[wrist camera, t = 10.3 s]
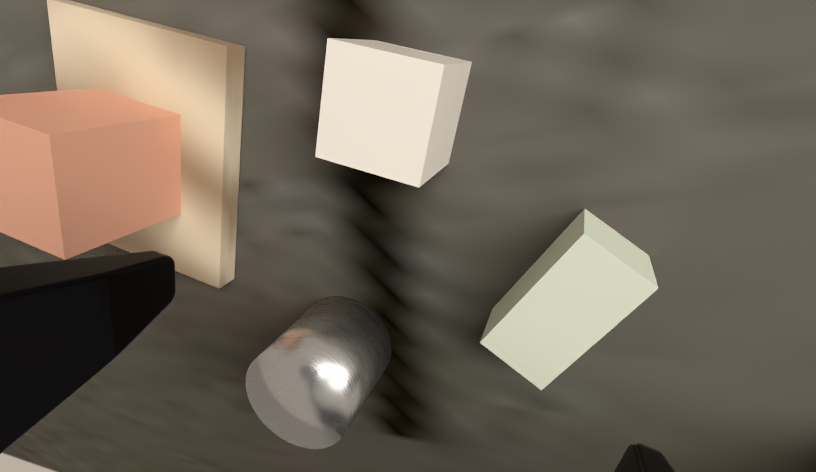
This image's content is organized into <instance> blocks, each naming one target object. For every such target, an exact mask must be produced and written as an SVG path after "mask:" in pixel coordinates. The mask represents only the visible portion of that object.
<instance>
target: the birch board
mask: <svg viewBox="0 0 816 472" xmlns="http://www.w3.org/2000/svg"><path fill="white" fill-rule="evenodd" d="M47 6H48V15H49V23H50V32H51V41H52V49H53V58H54V66H55V75H56V83H57V91H61V90H75V89H88V88H98V89H101V90H104V91H108V92H111V93H114V94H117V95H120V96H123V97H127V98H130V99H133V100H136V101H139V102H142V103H146V104H149V105H152V106H155V107H158V108H162V109H165V110H168V111H171V112H174V113H177V114H181V214H178V215H176V216H173V217H171V218H168V219H166V220H163V221H161V222H158V223H156V224H153V225H151V226H148V227H146V228H143V229H141V230H138V231H136V232H133V233H131V234H128V235H126V236H123V237H121V238H118V239H116V240H113V241H111V242H108V244H111V245H113V246H116V247H118V248H120V249H123V250H125V251H128V252H130V253H134V252H143V251H158V252H160V253H163V254H165V255H168V256H170V257H171V258H173V260H174V262H175V271H177V272H180V273H182V274H184V275H187V276H189V277H192V278H194V279H197V280H199V281H202V282H204V283H207V284H209V285H212V286H214V287H217V288H221V287H222V286H224V285H226V284H227V283H229V282H230V281H232V280H233V279H234V275H235V254H236V232H237V211H238V190H239V169H240V148H241V127H242V106H243V85H244V64H245V46H242V45H238V44H235V43H231V42H227V41H223V40H219V39H215V38H212V37H208V36H204V35H200V34H196V33H192V32H189V31H185V30H181V29H177V28H173V27H169V26H166V25H162V24H158V23H154V22H150V21H146V20H143V19H139V18H135V17H131V16H127V15H123V14H120V13H116V12H112V11H108V10H104V9H101V8H97V7H93V6H89V5H85V4H81V3H78V2H74V1H67V0H47Z"/></svg>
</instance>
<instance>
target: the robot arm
mask: <svg viewBox="0 0 816 472" xmlns="http://www.w3.org/2000/svg"><path fill="white" fill-rule="evenodd" d="M174 295H175V262H174V260H173V258H171V257H170V256H168V255H165V254H163V253H160V252H158V251H143V252H134V253H125V254H116V255H106V256H97V257H88V258H79V259H70V260H61V261H52V262H43V263H34V264H25V265H16V266H7V267H0V454H1V453H2V452H3V451H4V450H5V449H6V448H8V447H9V446H10V445H11V444H12V443H14V442H15V441H16V440H17V439H18V438H20V437H21V436H22V435H23V434H24V433H26V432H27V431H28V430H29V429H30V428H32V427H33V426H34V425H35V424H36V423H38V422H39V421H40V420H41V419H42V418H44V417H45V416H46V415H47V414H48V413H50V412H51V411H52V410H53V409H54V408H56V407H57V406H58V405H59V404H60V403H62V402H63V401H64V400H65V399H66V398H68V397H69V396H70V395H71V394H72V393H74V392H75V391H76V390H77V389H78V388H80V387H81V386H82V385H83V384H84V383H86V382H87V381H88V380H89V379H90V378H92V377H93V376H94V375H95V374H96V373H98V372H99V371H100V370H101V369H102V368H103V367H105V366H106V365H107V364H108V363H109V362H110V361H112V360H113V359H114V358H115V357H116V356H117V355H118V354H119V353H120V352H121V351H122V350H123V349H124V348H125V347H126V346H127V345H128V344H129V343H130V342H131V341H132V340H133V339H134V338H135V337H136V336H137V335H138V334H139V333H140V332H141V331H142V330H143V329H144V328H145V327H147V326H148V325H149V324H150V323H151V322H152V321H153V320H154V319H155V318H156V317H157V316H158V315H159V314H160V313H161V312H162V311H163V310H164V309H165V308H166V307H167V306H168V305H169V303H170V302H171V301H172V299H173V297H174ZM614 472H675V471H674V470H673V468H672V467H671V465H670V464H669V463H668V461H667V460H666V458H665V457H664V456H663V455H662V453H661V452H659V451H657V450H655V449H653V448H650V447H648V446H645V445H643V444H640V443H637V442H635V443H632V444H631V445H630V446H629V447H628V448H627V450H626V452H625V453H624V455H623V457H622V459H621V461H620V462H619V464H618V466H617V468H616V469H615V471H614Z"/></svg>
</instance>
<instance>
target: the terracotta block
mask: <svg viewBox="0 0 816 472" xmlns="http://www.w3.org/2000/svg"><path fill="white" fill-rule="evenodd" d="M178 214H181V114H177V113H174V112H171V111H168V110H165V109H162V108H158V107H155V106H152V105H149V104H146V103H142V102H139V101H136V100H133V99H130V98H127V97H123V96H120V95H117V94H114V93H111V92H108V91H104V90H101V89H98V88H88V89H75V90H61V91H48V92H35V93H21V94H8V95H0V232H1V233H4V234H6V235H8V236H11V237H13V238H15V239H18V240H20V241H22V242H25V243H27V244H29V245H32V246H34V247H36V248H39V249H41V250H43V251H46V252H48V253H50V254H53V255H55V256H57V257H60V258H62V259H64V260H66V259H68V258H71V257H73V256H76V255H78V254H81V253H83V252H86V251H88V250H91V249H93V248H96V247H98V246H101V245H103V244H106V243H108V242H111V241H113V240H116V239H118V238H121V237H123V236H126V235H128V234H131V233H133V232H136V231H138V230H141V229H143V228H146V227H148V226H151V225H153V224H156V223H158V222H161V221H163V220H166V219H168V218H171V217H173V216H176V215H178Z"/></svg>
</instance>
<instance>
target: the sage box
mask: <svg viewBox="0 0 816 472" xmlns="http://www.w3.org/2000/svg"><path fill="white" fill-rule="evenodd" d="M657 289H658V285H657V282H656V278H655V275H654V272H653V268H652V265H651V261H650V258H649V255H647V254H646V253H645V252H643V251H642V250H641V249H639V248H638V247H636V246H635V245H634V244H632V243H631V242H630V241H628V240H627V239H626V238H624V237H623V236H621V235H620V234H619V233H617V232H616V231H615V230H613V229H612V228H611V227H609V226H608V225H606V224H605V223H604V222H602V221H601V220H600V219H598V218H597V217H596V216H594V215H593V214H592V213H590V212H589V211H587V210H586V209H584V210H583V211H582V212H581V213H580V214H579V215H578V216H577V217H576V218H575V219H574V221H573V222H572V223H571V224H570V225H569V226H568V227H567V228H566V229H565V230H564V231H563V233H562V234H561V235H560V236H559V237H558V238H557V239H556V240H555V241H554V242H553V243H552V244H551V246H550V247H549V248H548V249H547V250H546V251H545V252H544V253H543V254H542V255H541V256H540V257H539V259H538V260H537V261H536V262H535V263H534V264H533V265H532V266H531V267H530V268H529V269H528V271H527V272H526V273H525V274H524V275H523V276H522V277H521V278H520V279H519V280H518V281H517V282H516V284H515V285H514V286H513V287H512V288H511V289H510V290H509V291H508V292H507V293H506V294H505V296H504V297H503V298H502V299H501V300H500V301H499V302H498V303H497V304H496V305H495V306H494V307H493V309H492V311H491V314H490V316H489V319H488V322H487V325H486V327H485V330H484V333H483V335H482V338H481V341H480V343H481V344H482V345H483V346H485V347H486V348H487V349H488V350H490V351H491V352H492V353H494V354H495V355H496V356H498V357H499V358H500V359H501V360H503V361H504V362H505V363H507V364H508V365H509V366H511V367H512V368H513V369H514V370H516V371H517V372H518V373H520V374H521V375H522V376H523V377H525V378H526V379H527V380H529V381H530V382H531V383H533V384H534V385H535V386H536V387H538V388H539V389H540V390H542V389H544V388H545V387H546V386H547V385H548V384H549V383H550V382H552V381H553V380H554V379H555V378H556V377H557V376H558V375H560V374H561V373H562V372H563V371H564V370H565V369H567V368H568V367H569V366H570V365H571V364H572V363H573V362H575V361H576V360H577V359H578V358H579V357H580V356H581V355H583V354H584V353H585V352H586V351H587V350H588V349H589V348H591V347H592V346H593V345H594V344H595V343H596V342H597V341H599V340H600V339H601V338H602V337H603V336H604V335H606V334H607V333H608V332H609V331H610V330H611V329H612V328H614V327H615V326H616V325H617V324H618V323H619V322H620V321H622V320H623V319H624V318H625V317H626V316H627V315H628V314H630V313H631V312H632V311H633V310H634V309H635V308H637V307H638V306H639V305H640V304H641V303H642V302H643V301H645V300H646V299H647V298H648V297H649V296H650V295H651V294H653V293H654V292H655V291H656V290H657Z"/></svg>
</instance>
